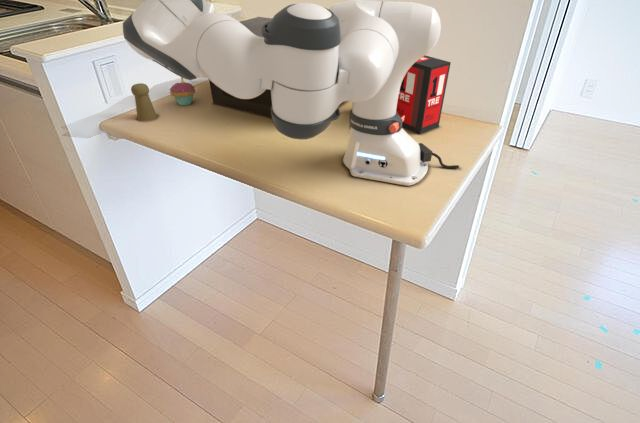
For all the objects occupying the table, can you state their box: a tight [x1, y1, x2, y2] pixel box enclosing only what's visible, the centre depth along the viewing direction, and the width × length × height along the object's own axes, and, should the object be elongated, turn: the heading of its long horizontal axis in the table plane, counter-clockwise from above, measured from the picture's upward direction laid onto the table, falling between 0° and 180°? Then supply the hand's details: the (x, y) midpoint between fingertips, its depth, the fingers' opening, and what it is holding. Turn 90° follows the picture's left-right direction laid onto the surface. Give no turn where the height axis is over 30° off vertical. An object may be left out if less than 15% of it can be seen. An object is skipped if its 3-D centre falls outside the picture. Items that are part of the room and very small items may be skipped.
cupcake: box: [169, 77, 196, 106], centre depth 140 cm, size 9×8×12 cm
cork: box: [130, 82, 158, 122], centre depth 130 cm, size 6×6×11 cm
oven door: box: [208, 79, 272, 119], centre depth 127 cm, size 6×40×24 cm, turn 60°
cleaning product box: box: [396, 55, 452, 135], centre depth 125 cm, size 16×9×20 cm, turn 39°
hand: (214, 46), depth 109 cm, fingers closed
